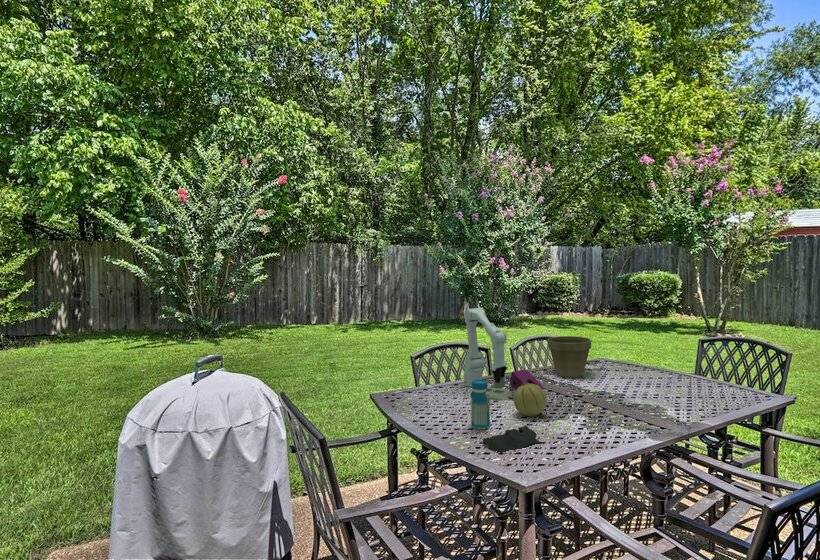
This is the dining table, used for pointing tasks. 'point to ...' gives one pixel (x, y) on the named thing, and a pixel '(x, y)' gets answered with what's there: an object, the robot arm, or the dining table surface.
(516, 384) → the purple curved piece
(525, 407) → the cantaloupe
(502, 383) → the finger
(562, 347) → the plant pot
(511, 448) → the dark slate chunk
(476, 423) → the beverage bottle
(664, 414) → the dining table surface
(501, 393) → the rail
